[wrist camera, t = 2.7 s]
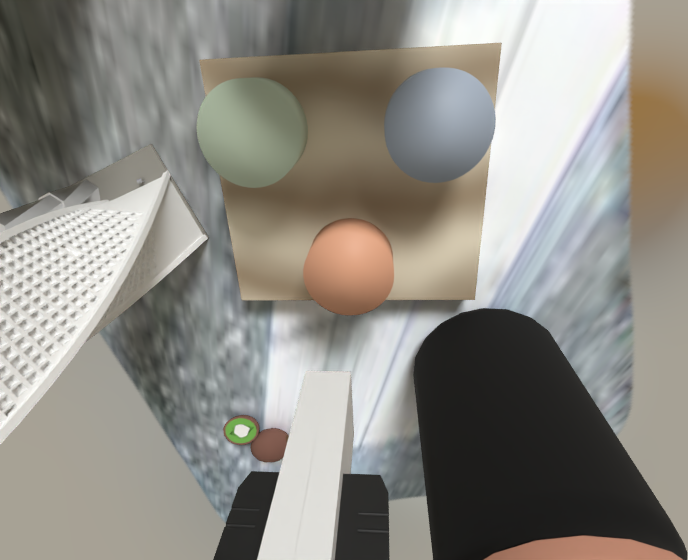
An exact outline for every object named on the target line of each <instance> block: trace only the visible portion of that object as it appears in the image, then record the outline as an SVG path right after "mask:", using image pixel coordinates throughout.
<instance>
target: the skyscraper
mask: <svg viewBox="0 0 688 560" xmlns="http://www.w3.org/2000/svg"><path fill="white" fill-rule="evenodd" d="M208 238H209V237H208V235H207V234H206V232H205V230H204V229H203V227H202V225H201V224H200V222H199V220H198V219H197V217H196V216H195V214H194V212H193V211H192V209H191V207H190V206H189V204H188V202H187V201H186V199H185V198H184V196H183V194H182V193H181V191H180V189H179V188H178V186H177V184H176V183H175V181H174V180H173V178H172V176H171V175H170V173H169V171H168V170H167V168H166V166H165V165H164V163H163V162H162V160H161V158H160V157H159V155H158V153H157V152H156V150H155V148H154V147H153V145H152V144H150V145H148V146H146V147H144V148H142V149H140V150H138V151H136V152H134V153H132V154H130V155H129V156H127V157H125V158H123V159H121V160H119V161H117V162H115V163H113V164H111V165H109V166H107V167H106V168H104V169H102V170H100V171H98V172H96V173H94V174H92V175H90V176H88V177H86V178H85V179H83V180H81V181H79V182H77V183H75V184H73V185H71V186H69V187H66V188H62V189H59V190H56V191H52V192H49V193H47V194H45V195H43V196H42V197H40V198H38V201H35V202H32V203H29V204H26V205H24V206H21V207H18V208H15V209H12V210H9V211H6V212H3V213H1V214H0V444H1V443H2V442H3V441H4V440H5V439H6V438H7V437H8V436H9V435H10V433H11V432H12V431H13V430H14V429H15V428H16V427H17V426H18V425H19V424H20V422H21V421H22V420H23V419H24V418H25V416H26V415H27V414H28V413H29V412H30V410H31V409H32V408H33V407H34V406H35V405H36V403H37V402H38V401H39V400H40V399H41V397H42V396H43V395H44V394H45V393H46V392H47V390H48V389H49V388H50V387H51V386H52V384H53V383H54V382H55V381H56V379H57V378H58V377H59V375H60V374H61V373H62V371H63V370H64V369H65V368H66V366H67V365H68V364H69V362H70V361H71V360H72V358H73V357H74V356H75V355H76V353H77V352H78V351H79V349H80V348H81V346H82V345H83V344H84V343H85V342H86V341H87V340H89V339H90V338H91V337H93V336H94V335H95V334H97V333H98V332H99V331H101V330H102V329H103V328H104V327H106V326H107V325H108V324H109V323H111V322H112V321H113V320H114V319H115V318H117V317H118V316H119V315H120V314H122V313H123V312H124V311H125V310H127V309H128V308H129V307H130V306H131V305H133V304H134V303H135V302H136V301H137V300H139V299H140V298H141V297H142V296H143V295H144V294H146V293H147V292H148V291H149V290H150V289H151V288H153V287H154V286H155V285H156V284H157V283H158V282H160V281H161V280H162V279H163V278H164V277H165V276H166V275H167V274H169V273H170V272H171V271H172V270H173V269H174V268H175V267H176V266H178V265H179V264H180V263H181V262H182V261H183V260H184V259H185V258H187V257H188V256H189V255H190V254H191V253H192V252H193V251H194V250H196V249H197V248H198V247H199V246H200V245H201V244H202V243H203V242H204V241H205V240H207V239H208Z"/></svg>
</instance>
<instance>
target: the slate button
mask: <svg viewBox="0 0 688 560" xmlns="http://www.w3.org/2000/svg"><path fill="white" fill-rule="evenodd" d="M494 130H495V110H494V105H493V102H492V99H491V97H490V95H489V93H488V91H487V89H486V88H485V87H484V86H483V84H482V83H481V82H480V81H479V80H478V79H476V78H475V77H474V76H472V75H471V74H469V73H467V72H465V71H462V70H459V69H455V68H431V69H426V70H423V71H420V72H418V73H415V74H414V75H412V76H410V77H409V78H407V79H406V80H405V81H404V82H403V83H402V84H401V85H400V86H399V87H398V88H397V89H396V90H395V92H394V93H393V95H392V97H391V98H390V101H389V103H388V105H387V109H386V112H385V118H384V131H385V141H386V146H387V148H388V151H389V154H390V156H391V158H392V159H393V161H394V162H395V164H396V165H397V166H398V167H399V168H400V169H401V170H402V171H403V172H404V173H406V174H407V175H409V176H410V177H412V178H414V179H417V180H420V181H423V182H429V183H441V182H447V181H451V180H454V179H456V178H459V177H461V176H463V175H464V174H466V173H467V172H469V171H470V170H471V169H473V168H474V167H475V166H476V165H477V164H478V163H479V162H480V161H481V159H482V158H483V157H484V155H485V154H486V152H487V150H488V149H489V146H490V144H491V142H492V139H493V135H494Z"/></svg>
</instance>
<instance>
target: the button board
mask: <svg viewBox="0 0 688 560" xmlns="http://www.w3.org/2000/svg"><path fill="white" fill-rule="evenodd" d="M501 44H502V43H488V44H470V45H452V46H435V47H417V48H399V49H382V50H364V51H347V52H329V53H311V54H294V55H276V56H258V57H241V58H223V59H205V60H199V61H200V66H201V72H202V78H203V83H204V89H205V95H206V96H207V95H208V94H209V92H210V91H211V90H212V89H214V88H215V87H216V86H218V85H219V84H221V83H223V82H225V81H228V80H231V79H237V78H253V77H260V78H267V79H270V80H273V81H276V82H278V83H280V84H281V85H283V86H284V87H286V88H287V89H288V90H289V91H291V92H292V94H293V95H294V96H295V97H296V98H297V100H298V101H299V103H300V104H301V106H302V108H303V110H304V113H305V116H306V120H307V125H308V138H307V144H306V147H305V150H304V153H303V154H302V156H301V158H300V159H299V161H298V162H297V163H296V164H295V165H294V167H293V168H292V169H291V170H290V171H289V172H288V173H287V174H286V175H285V176H284V177H283V178H282V179H280V180H279V181H277V182H275V183H274V184H271V185H269V186H265V187H259V188H248V187H243V186H239V185H236V184H234V183H232V182H230V181H228V180H226V179H224V178H223V177H222V176H221V175H220V179H221V185H222V191H223V196H224V202H225V208H226V213H227V219H228V225H229V230H230V236H231V242H232V247H233V253H234V259H235V264H236V270H237V276H238V281H239V287H240V293H241V298H242V300H314V299H313V298H312V297H311V295H310V294H309V292H308V290H307V288H306V286H305V283H304V277H303V269H304V263H305V260H306V257H307V255H308V252H309V250H310V247H311V245H312V243H313V240H314V238H315V237H316V235H317V234H318V233H319V231H320V230H321V229H322V228H324V227H325V226H326V225H328V224H330V223H331V222H334V221H336V220H340V219H345V218H356V219H361V220H365V221H367V222H370V223H372V224H373V225H375V226H377V227H378V228H379V229H380V230H381V231H382V232H383V233H384V234H385V235H386V237H387V238H388V240H389V242H390V244H391V247H392V251H393V264H394V283H393V287H392V289H391V292H390V294H389V295H388V297H387V298H386V299H385V300H475V292H476V283H477V273H478V264H479V254H480V244H481V235H482V225H483V216H484V206H485V197H486V187H487V177H488V168H489V158H490V149H491V144H490V146H489V149H488V150H487V152H486V154H485V155H484V157H483V158H482V159H481V161H480V162H479V163H478V164H477V165H476V166H475V167H474V168H473V169H471V170H470V171H469V172H467V173H466V174H464V175H463V176H461V177H459V178H456V179H454V180H451V181H447V182H441V183H429V182H423V181H420V180H417V179H414V178H412V177H410V176H409V175H407V174H406V173H404V172H403V171H402V170H401V169H400V168H399V167H398V166H397V165H396V164H395V162H394V161H393V159H392V158H391V156H390V154H389V151H388V148H387V146H386V141H385V131H384V118H385V112H386V109H387V105H388V103H389V101H390V98H391V97H392V95H393V93H394V92H395V90H396V89H397V88H398V87H399V86H400V85H401V84H402V83H403V82H404V81H405V80H406V79H407V78H409V77H410V76H412V75H414V74H415V73H418V72H420V71H423V70H426V69H431V68H455V69H459V70H462V71H465V72H467V73H469V74H471V75H472V76H474V77H475V78H476V79H478V80H479V81H480V82H481V83H482V84H483V86H484V87H485V88H486V89H487V91H488V93H489V95H490V97H491V99H492V102H493V105H494V110H495V101H496V91H497V82H498V72H499V63H500V53H501Z"/></svg>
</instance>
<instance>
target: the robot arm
mask: <svg viewBox="0 0 688 560" xmlns="http://www.w3.org/2000/svg"><path fill="white" fill-rule="evenodd" d="M353 437H354V426H353V406H352V386H351V371H306V372H305V375H304V379H303V383H302V387H301V391H300V395H299V399H298V403H297V407H296V410H295V414H294V418H293V422H292V426H291V430H290V434H289V438H288V441H287V445H286V449H285V453H284V457H283V461H282V465H281V469H280V472H255V471H251V473H250V474H249V475H248V476H247V478H246V479H245V480H244V481H243V483H242V484H241V485H240V486H239V487H238V490H237V493H236V496H235V499H234V502H233V504H232V509H231V511H230V513H229V516H228V519H227V522H226V527H224V530H223V533H222V536H221V539H220V542H219V545H218V548H217V551H216V553H215V556H214V559H213V560H389V509H388V508H389V506H388V491H387V489H386V487H385V484H384V482H383V480H382V478H381V476H380V475H365V474H351V463H352V450H353Z"/></svg>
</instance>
